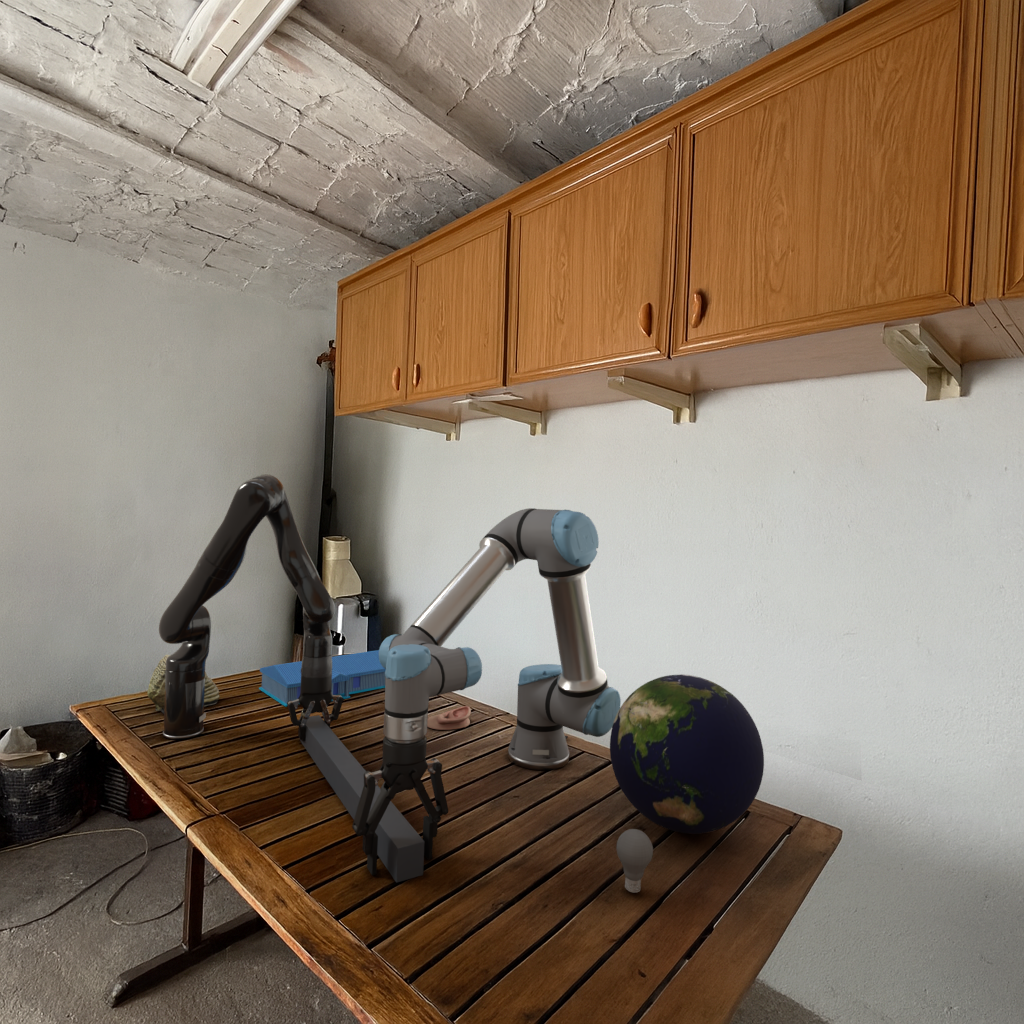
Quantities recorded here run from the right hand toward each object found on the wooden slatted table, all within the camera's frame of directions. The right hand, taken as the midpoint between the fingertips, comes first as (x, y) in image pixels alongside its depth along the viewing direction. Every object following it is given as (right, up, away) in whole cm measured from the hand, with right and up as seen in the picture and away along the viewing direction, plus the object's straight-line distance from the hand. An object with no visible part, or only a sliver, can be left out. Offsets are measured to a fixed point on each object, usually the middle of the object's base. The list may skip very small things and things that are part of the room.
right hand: (399, 862), depth 111 cm
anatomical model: (+1, +1, +69) cm, 69 cm away
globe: (+54, -2, +18) cm, 57 cm away
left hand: (-31, +4, +50) cm, 59 cm away
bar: (-16, +1, +25) cm, 30 cm away
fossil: (-76, +4, +74) cm, 107 cm away
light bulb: (+40, -2, -5) cm, 40 cm away
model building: (-39, +3, +97) cm, 105 cm away
